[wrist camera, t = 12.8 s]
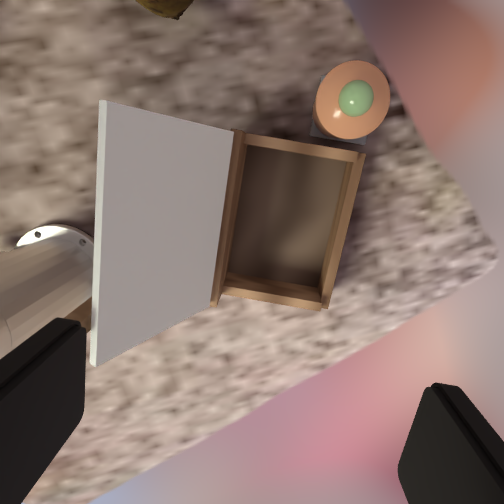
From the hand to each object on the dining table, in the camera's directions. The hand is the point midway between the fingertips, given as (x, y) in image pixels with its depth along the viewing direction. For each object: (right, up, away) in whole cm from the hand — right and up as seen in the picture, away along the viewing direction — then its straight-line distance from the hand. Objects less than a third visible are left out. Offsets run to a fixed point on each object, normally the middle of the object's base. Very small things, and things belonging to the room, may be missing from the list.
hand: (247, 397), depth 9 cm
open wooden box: (0, +8, +31) cm, 32 cm away
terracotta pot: (+9, +19, +27) cm, 34 cm away
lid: (-6, +5, +17) cm, 19 cm away
